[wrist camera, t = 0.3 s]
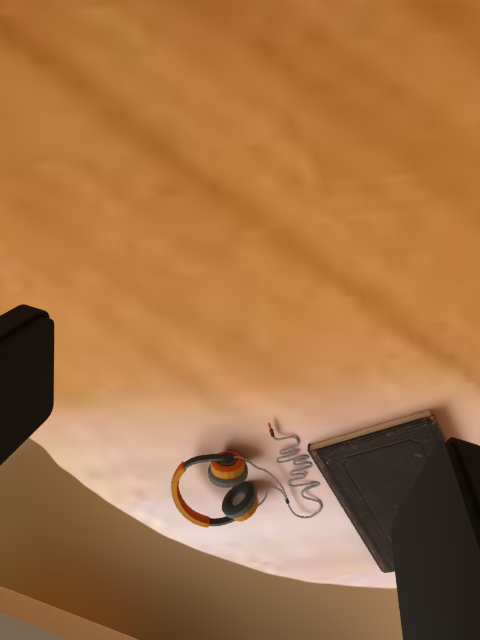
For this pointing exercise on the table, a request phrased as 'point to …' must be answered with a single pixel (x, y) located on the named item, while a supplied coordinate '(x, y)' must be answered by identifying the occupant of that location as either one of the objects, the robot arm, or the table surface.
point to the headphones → (234, 485)
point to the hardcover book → (377, 474)
